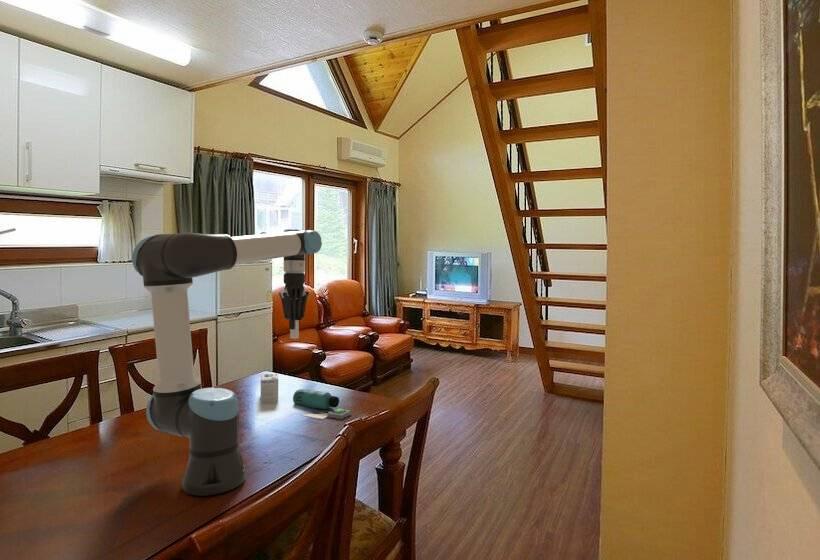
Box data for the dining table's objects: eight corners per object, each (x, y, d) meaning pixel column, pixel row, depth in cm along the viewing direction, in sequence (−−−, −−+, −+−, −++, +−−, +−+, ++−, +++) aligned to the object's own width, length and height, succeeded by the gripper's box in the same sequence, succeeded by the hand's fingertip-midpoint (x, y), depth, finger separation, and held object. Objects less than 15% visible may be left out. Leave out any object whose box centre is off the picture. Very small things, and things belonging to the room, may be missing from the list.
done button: (340, 416, 161) (340, 411, 161) (332, 414, 163) (332, 410, 163) (345, 413, 164) (345, 409, 164) (338, 412, 166) (338, 408, 166)
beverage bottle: (303, 396, 181) (344, 401, 172) (293, 409, 177) (335, 415, 167) (296, 384, 178) (338, 389, 169) (286, 397, 173) (329, 402, 164)
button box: (341, 419, 160) (341, 415, 160) (327, 417, 162) (327, 412, 162) (350, 414, 165) (350, 410, 165) (337, 412, 168) (337, 408, 168)
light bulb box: (260, 400, 184) (260, 374, 184) (278, 399, 186) (277, 373, 186) (260, 408, 174) (260, 379, 174) (278, 406, 176) (278, 378, 176)
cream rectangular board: (322, 419, 160) (322, 418, 160) (295, 414, 165) (295, 413, 165) (348, 407, 174) (348, 406, 174) (323, 403, 179) (323, 402, 179)
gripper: (289, 272, 156) (289, 341, 156) (314, 272, 168) (314, 336, 168) (273, 272, 160) (273, 339, 160) (299, 272, 171) (299, 335, 171)
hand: (294, 338), depth 164 cm, fingers closed
